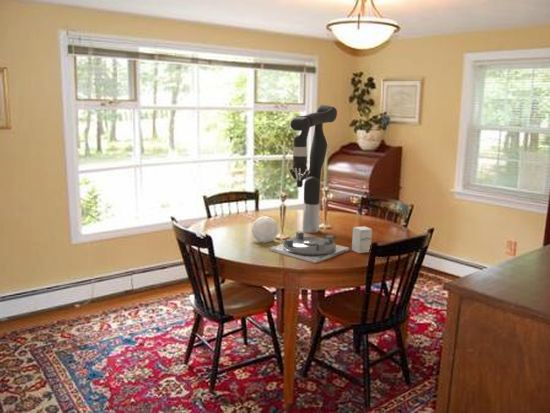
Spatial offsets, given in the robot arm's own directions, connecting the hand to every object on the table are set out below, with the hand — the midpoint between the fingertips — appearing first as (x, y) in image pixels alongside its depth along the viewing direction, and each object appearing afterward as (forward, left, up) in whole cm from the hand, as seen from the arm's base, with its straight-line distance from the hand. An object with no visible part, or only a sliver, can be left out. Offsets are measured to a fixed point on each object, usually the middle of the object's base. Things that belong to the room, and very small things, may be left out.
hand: (299, 187), depth 273 cm
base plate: (+7, +13, -31) cm, 35 cm away
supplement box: (-12, +33, -32) cm, 47 cm away
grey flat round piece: (+7, +13, -30) cm, 34 cm away
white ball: (+11, -15, -32) cm, 37 cm away
